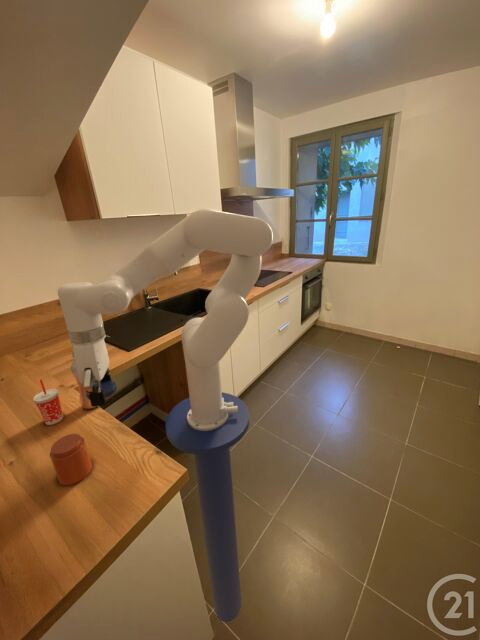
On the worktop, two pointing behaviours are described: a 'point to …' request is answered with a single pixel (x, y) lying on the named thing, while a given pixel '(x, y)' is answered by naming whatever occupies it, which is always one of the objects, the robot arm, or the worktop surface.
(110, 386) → the lid
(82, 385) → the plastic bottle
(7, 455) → the worktop surface
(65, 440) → the jar
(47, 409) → the beverage cup
